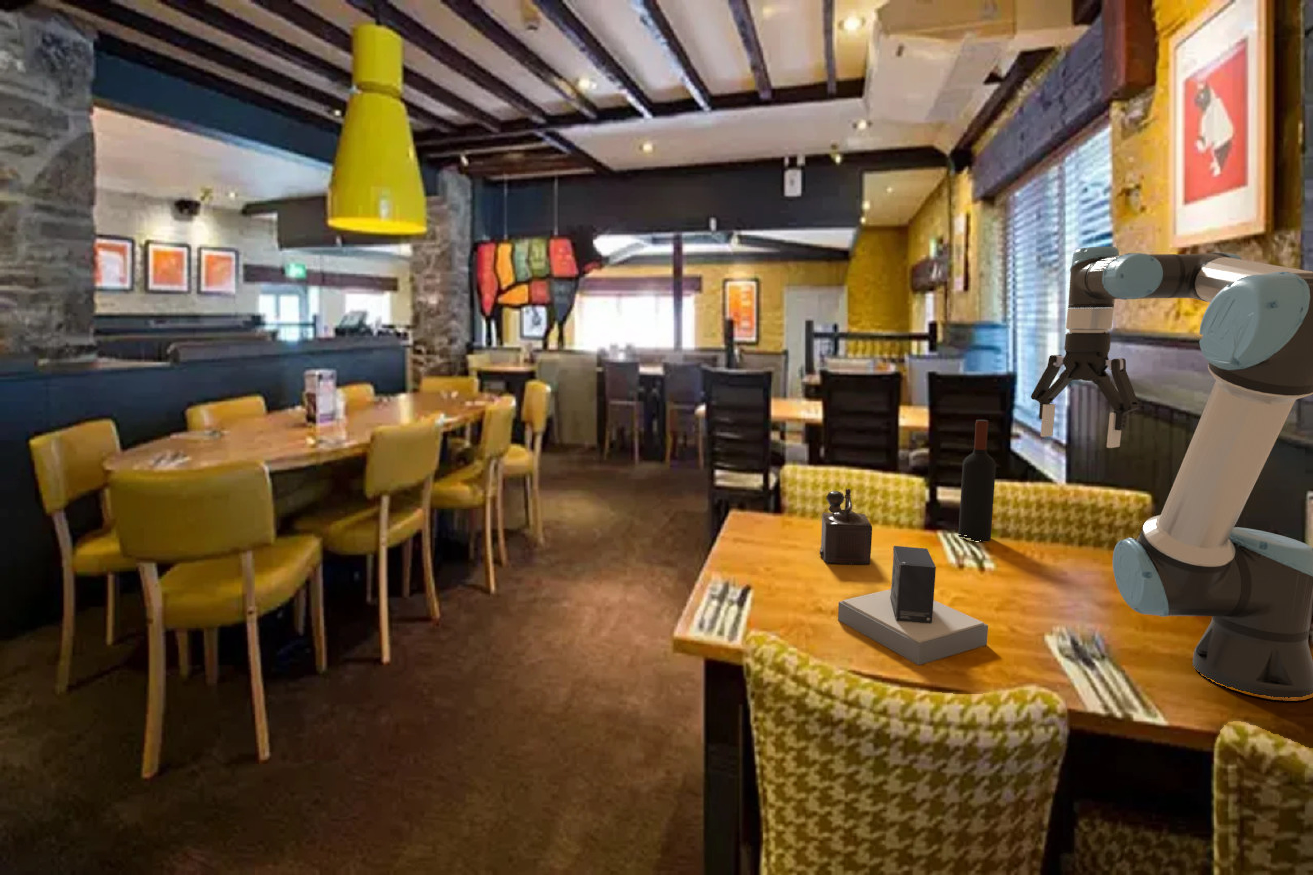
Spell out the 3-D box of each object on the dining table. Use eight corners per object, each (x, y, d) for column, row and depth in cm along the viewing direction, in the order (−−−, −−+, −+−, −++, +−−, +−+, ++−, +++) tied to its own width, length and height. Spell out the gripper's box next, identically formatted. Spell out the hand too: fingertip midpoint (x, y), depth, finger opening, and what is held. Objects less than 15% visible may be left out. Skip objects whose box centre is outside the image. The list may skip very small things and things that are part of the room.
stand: (986, 644, 127) (988, 623, 127) (918, 665, 121) (919, 642, 120) (901, 604, 145) (902, 584, 144) (838, 620, 138) (838, 599, 138)
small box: (934, 624, 126) (938, 566, 125) (895, 621, 128) (898, 564, 126) (925, 600, 137) (928, 546, 135) (889, 598, 138) (891, 544, 136)
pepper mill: (817, 549, 178) (819, 477, 175) (863, 550, 177) (866, 477, 174) (824, 572, 163) (827, 493, 160) (875, 573, 162) (879, 494, 159)
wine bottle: (956, 539, 184) (963, 421, 179) (959, 531, 191) (967, 417, 186) (989, 543, 181) (998, 423, 176) (991, 535, 187) (999, 419, 182)
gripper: (1169, 332, 130) (1156, 450, 133) (1042, 329, 152) (1033, 430, 155) (1144, 333, 126) (1131, 454, 130) (1017, 330, 149) (1009, 433, 152)
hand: (1078, 441), depth 143 cm, fingers open, 13 cm apart
